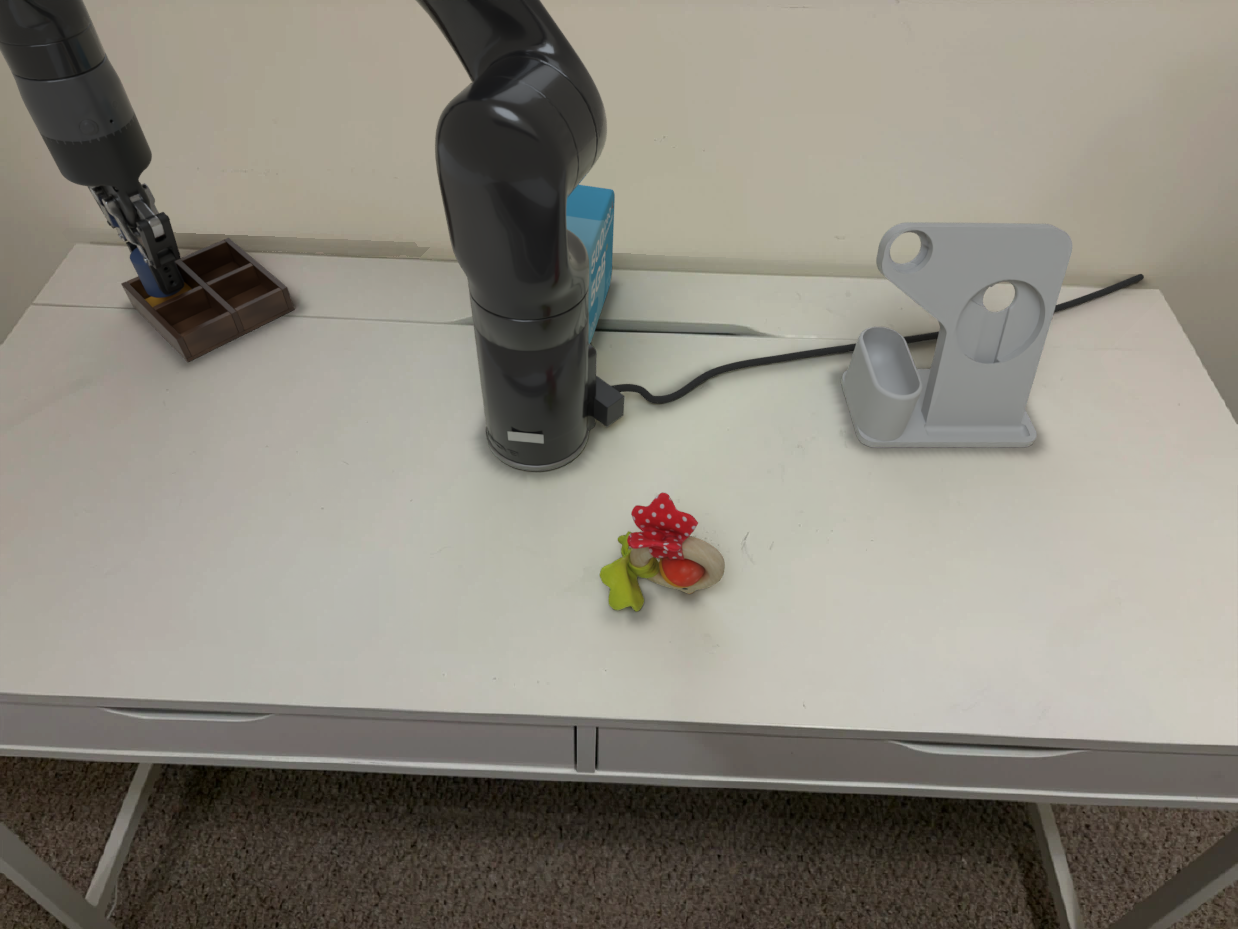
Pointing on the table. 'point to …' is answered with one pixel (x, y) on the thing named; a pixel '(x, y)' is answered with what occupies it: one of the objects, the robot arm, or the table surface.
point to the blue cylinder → (146, 275)
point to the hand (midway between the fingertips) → (162, 279)
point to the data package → (594, 240)
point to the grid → (213, 300)
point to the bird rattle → (661, 555)
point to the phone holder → (960, 338)
